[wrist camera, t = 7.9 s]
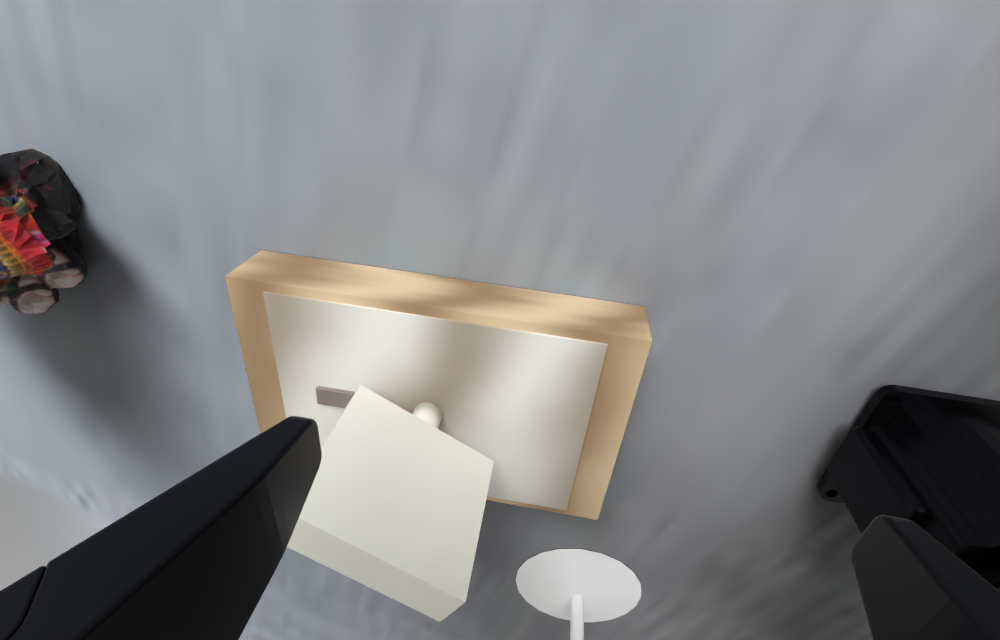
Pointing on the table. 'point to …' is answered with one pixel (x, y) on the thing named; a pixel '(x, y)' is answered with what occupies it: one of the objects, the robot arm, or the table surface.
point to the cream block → (396, 504)
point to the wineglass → (578, 587)
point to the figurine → (37, 232)
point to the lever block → (450, 365)
